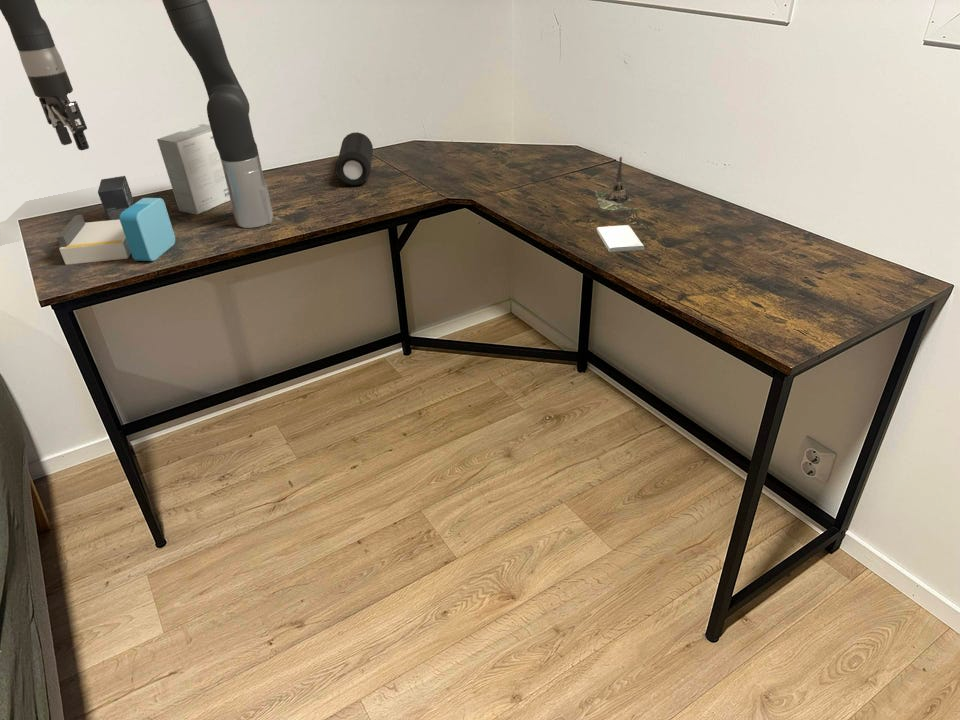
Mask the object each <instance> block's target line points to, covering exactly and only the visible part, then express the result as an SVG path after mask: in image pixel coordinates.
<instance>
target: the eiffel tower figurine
mask: <svg viewBox="0 0 960 720" xmlns="http://www.w3.org/2000/svg"><path fill="white" fill-rule="evenodd" d="M622 160H623V157H622V156H619V158H618V161H619V162H618V163H619V164H618V168H617V174H616V177H615V178H616V179H615V181H614V185H613V187H612V189H611V190H610V192H609V194H608V195H607V192H606V191H604V190H593V192H594V196H595V198H596V202H597V205H598V207H599V209H603V210H606V211H631V210H638V208H637V207H628V206H622V205H624V204H627V203H628V202H631V201H632V199H630V197H629V195H628V194H627V192H626V189H625V188H624V184H623V180H622V179H623V178H622V176H623V175H622V167H623V166H622V165H623V163H622V162H623V161H622ZM606 195H607V196H606ZM604 196H606V197H604ZM623 196H624V197H623Z"/></svg>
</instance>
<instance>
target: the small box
mask: <svg viewBox="0 0 960 720" xmlns="http://www.w3.org/2000/svg"><path fill="white" fill-rule="evenodd" d="M97 194H98V197H99V199H100V202H101V205H102V208H103V210H104V212H105V215H106V218H107V221H109V220H119V219H120V214H121V213H122V212H123V211H124V210H126V209H127V208H129V207H130V206H132V205H133V204H135V203H136V202H135V200H134V197H133V195H132V190H131V188H130V185H129V183H128V179H127V177H126V175H121V176H113V177H108V178H102V179H101V180H100V183H99V185H98V190H97Z"/></svg>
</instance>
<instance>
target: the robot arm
mask: <svg viewBox="0 0 960 720" xmlns="http://www.w3.org/2000/svg"><path fill="white" fill-rule="evenodd" d="M161 2H162V4H163V7H164V9H165V11H166V12H165V13H166V14H167V16H168V19H169V21H170V23H171V25H172V28H173V31H174V32H175V34H176V35H177V38H178V39H179V41H180V42H181V44H182V46H183V47H184V49H185V50H186V52H187V54H188V56H190V58H191V59H192V61H193V62H194V64H195V66H196V68H197V70H198V72H199V74H200V77H201V79H202V82H203V83H204V87H205V88H204V89H205V90H206V93H207V97H208V100H207V104H206V113H207V115H206V116H207V118H208V123H209V125H210V127H211V131H212V134H213V138H214V142H215V145H216V148H217V150H218V152H219V155H220V159H221V163H222V167H223V171H224V175H225V179H226V183H227V187H228V191H229V195H230V199H231V200H230V204H231V206H232V211H233V215H234V219H235V223H236V225H237V226H238V227H241V228H245V229H246V228H247V229H248V228H249V229H250V228H257V227H262V226H265V225H269V224H270V225H271V224H272V223H273V218H274V212H273V209H272V203H271V198H270V195H269V189H268V185H267V181H266V180H265V177H264V173H263V168H262V164H261V159H260V155H259V154H260V153H259V150H258V145H257V143H256V141H255V137H254V132H253V129H252V124H251V119H250V110H251V109H250V103H249V102H250V101H249V99H248V97H247V96H246V93H245V92H244V89H243V87H242V85H241V84H240V83H239V80H238V78H237V77H236V74H235V72H234V70H233V68H232V66H231V64H230V60H229V59H228V56H227V52H226V48H225V45H224V42H223V40H222V39H223V38H222V37H221V33H220V31H219V30H220V29H219V27H218V24H217V22H216V18H215V16H214V13H213V11H212V9H211V5H210V3H209V1H208V0H161ZM0 12H1V14H2V16H3V18H4V19H5V21H6V23H7V24H8V27H9V29H10V33H11V36H12V38H13V41H14V44H15V47H16V49H17V50H18V53H19V56H20V61H21V64H22V67H23V69H24V72H25V74H26V76H27V79H28V81H29V84H30V86H31V89H32V91H33V94H34V95H35V96H36V97H37V98H38V100H39V103H40V106H41V108H42V110H43V114H44V115H45V119H46V122H47V124H48V125H51V126H52V128H53V129H55V132H56V135H57V136H58V138H59V142H60V144H61V145H63V146H67V145H71V144H72V143H73V140H74V142H75V145H76V148H77V150H78V151H85V150H88V149H90V145H89V143H88V140H87V136H86V135H85V133H84V132H85V131H86V130H88V128H87V124H86V121H85V119H84V117H83V115H82V112H81V109H80V107H79V104H78V102H77V101H76V100H74V101H70V99H69V98H68V94H72V92H73V90H74V89H73V86H72V84H71V83H72V82H71V80H70V78H69V75H68V72H67V70H66V68H65V64H64V61H63V60H62V57H61V55H60V53H59V51H58V49H57V46H56V44H55V40H54V39H53V36H52V33H51V31H50V29H49V26H48V24H47V23H46V21H45V19H44V18H43V17H42V16H41V13H40V10H39V7H38V5H37V2H36V0H0ZM67 127H68V128H67ZM69 131H70V132H71V135H72V137H73V140H72V138H71V135H70V133H69Z"/></svg>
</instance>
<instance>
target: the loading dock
mask: <svg viewBox="0 0 960 720" xmlns="http://www.w3.org/2000/svg"><path fill="white" fill-rule="evenodd" d="M56 240H57V242H58V245H59V251H60V254H61V256H62V259H63V261H64V264H65V265H76V264H86V263H96V262H106V261H117V260H126V259H129V257H130V256H131V255H132V254H131V251H130V248H129V245H128V242H127V239H126V237H125V234H124V231H123V228H122V225H121V222H120V219H119V220H109V221H108V220H100V221H99V220H98V221H91V222H90V221H89V222H85V220H84V217H83V214H75V215H74V216H73V217H72V219H70V221H69V222H68V224H67V225H66V226H65V227H64V228H63V229H62V230H61V231H60V233H59V234H58V235H57V236H56Z"/></svg>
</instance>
